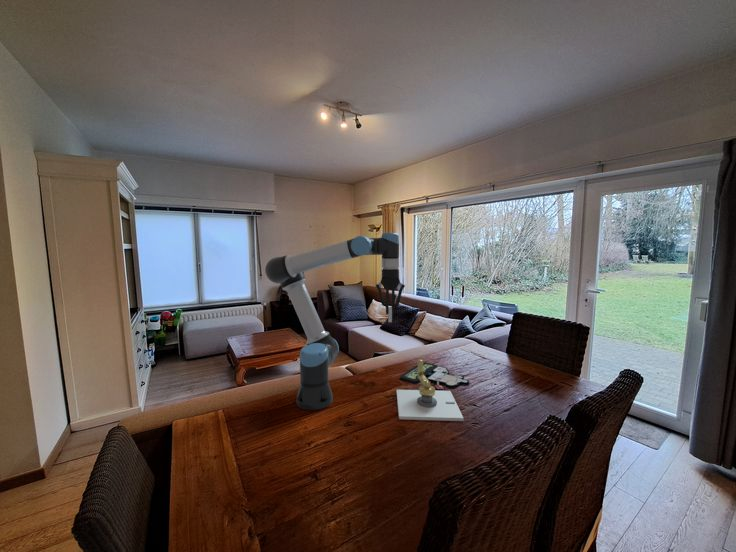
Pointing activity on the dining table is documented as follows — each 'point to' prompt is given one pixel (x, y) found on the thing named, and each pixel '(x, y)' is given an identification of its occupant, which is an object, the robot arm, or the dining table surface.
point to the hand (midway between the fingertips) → (390, 321)
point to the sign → (435, 377)
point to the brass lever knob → (424, 382)
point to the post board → (427, 406)
